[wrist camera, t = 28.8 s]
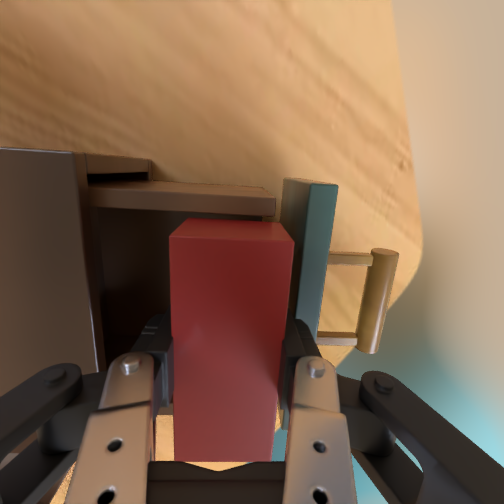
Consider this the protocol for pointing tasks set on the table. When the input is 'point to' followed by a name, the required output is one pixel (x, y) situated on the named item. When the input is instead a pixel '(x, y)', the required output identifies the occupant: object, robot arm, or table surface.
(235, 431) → the red rectangular block
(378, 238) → the table surface
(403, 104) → the table surface
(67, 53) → the table surface
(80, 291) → the cabinet
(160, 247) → the drawer
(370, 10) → the table surface
